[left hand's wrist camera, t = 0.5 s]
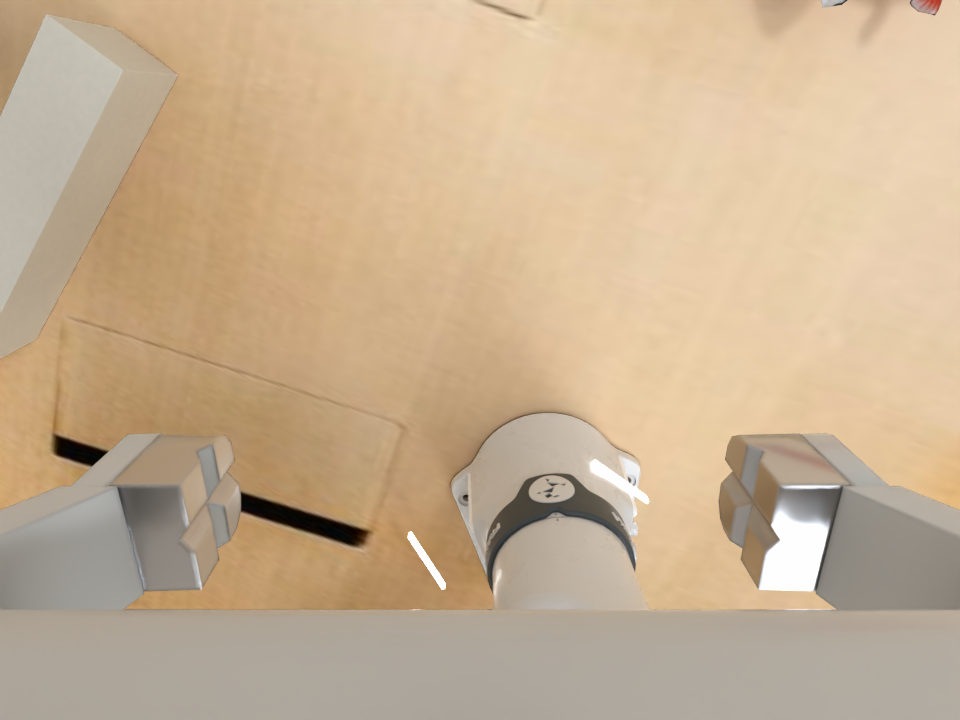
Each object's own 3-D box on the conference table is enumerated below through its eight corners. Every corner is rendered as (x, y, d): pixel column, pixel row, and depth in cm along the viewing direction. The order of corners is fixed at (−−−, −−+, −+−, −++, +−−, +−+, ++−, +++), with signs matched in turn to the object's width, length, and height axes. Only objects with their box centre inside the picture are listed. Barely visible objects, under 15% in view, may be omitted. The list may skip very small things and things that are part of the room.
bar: (114, 27, 47) (45, 13, 40) (178, 75, 49) (123, 70, 41) (-21, 305, 56) (-100, 336, 48) (36, 339, 57) (-31, 375, 50)
